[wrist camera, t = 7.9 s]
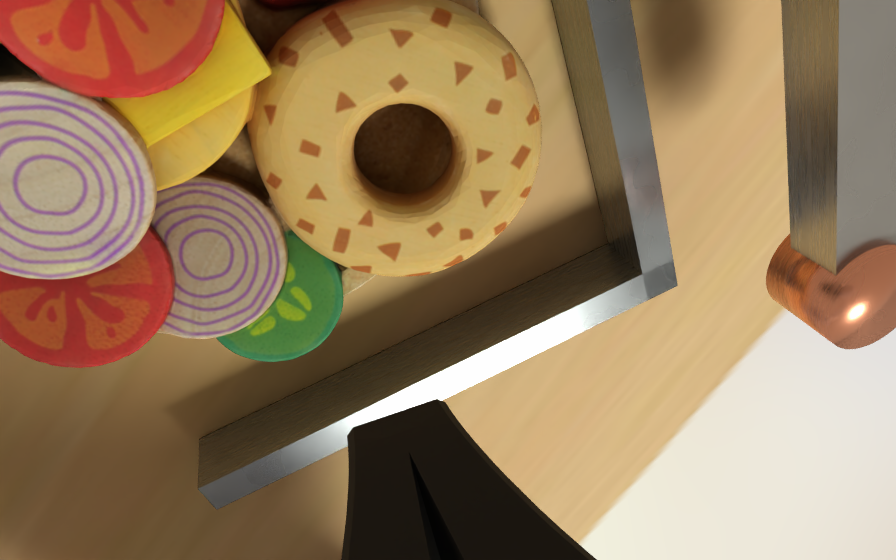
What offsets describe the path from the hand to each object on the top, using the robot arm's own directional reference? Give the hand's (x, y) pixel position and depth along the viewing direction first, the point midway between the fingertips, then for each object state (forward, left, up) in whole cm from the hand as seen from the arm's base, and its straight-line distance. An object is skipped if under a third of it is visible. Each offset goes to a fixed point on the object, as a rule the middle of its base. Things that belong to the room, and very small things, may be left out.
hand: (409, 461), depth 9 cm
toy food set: (+4, +1, -10) cm, 11 cm away
